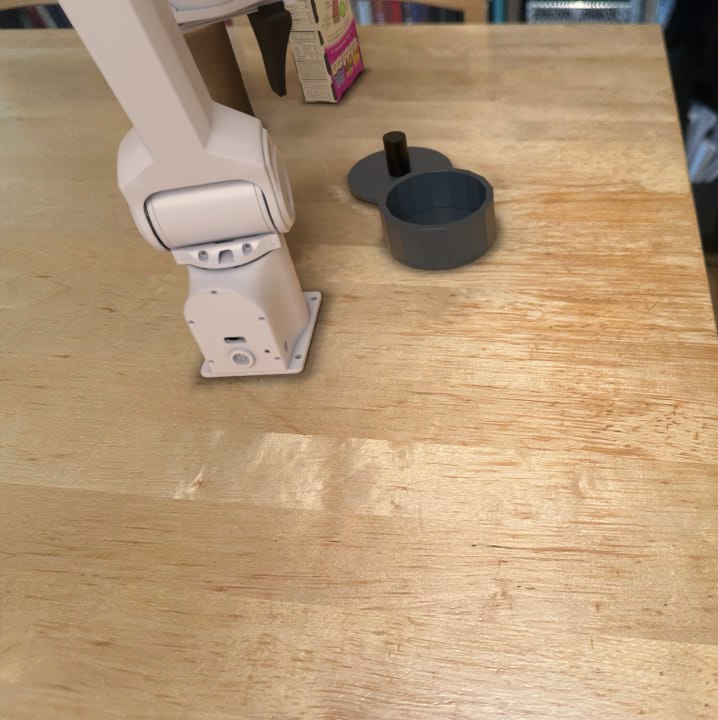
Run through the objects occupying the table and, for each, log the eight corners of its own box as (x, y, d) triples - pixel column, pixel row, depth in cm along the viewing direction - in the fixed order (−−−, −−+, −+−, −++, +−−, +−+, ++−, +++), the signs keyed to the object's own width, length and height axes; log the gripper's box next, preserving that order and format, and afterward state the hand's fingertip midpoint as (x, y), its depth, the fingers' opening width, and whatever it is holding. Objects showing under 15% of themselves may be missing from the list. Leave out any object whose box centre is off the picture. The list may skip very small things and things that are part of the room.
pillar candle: (276, 131, 80) (237, -2, 70) (214, 167, 75) (161, 28, 64) (224, 116, 84) (178, -13, 74) (161, 148, 79) (103, 15, 68)
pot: (496, 267, 58) (494, 225, 55) (381, 273, 59) (372, 232, 56) (494, 204, 66) (492, 164, 62) (392, 210, 66) (384, 170, 63)
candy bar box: (332, 69, 93) (302, -65, 81) (365, 70, 92) (340, -66, 81) (301, 103, 85) (264, -39, 74) (337, 104, 85) (305, -40, 73)
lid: (452, 206, 66) (447, 160, 62) (342, 212, 66) (330, 167, 63) (454, 152, 74) (450, 108, 70) (356, 158, 74) (347, 114, 70)
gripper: (253, -89, 57) (294, 70, 66) (79, -53, 51) (152, 115, 61) (286, -77, 52) (325, 91, 62) (101, -36, 47) (175, 141, 57)
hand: (241, 105), depth 61 cm, fingers open, 7 cm apart
